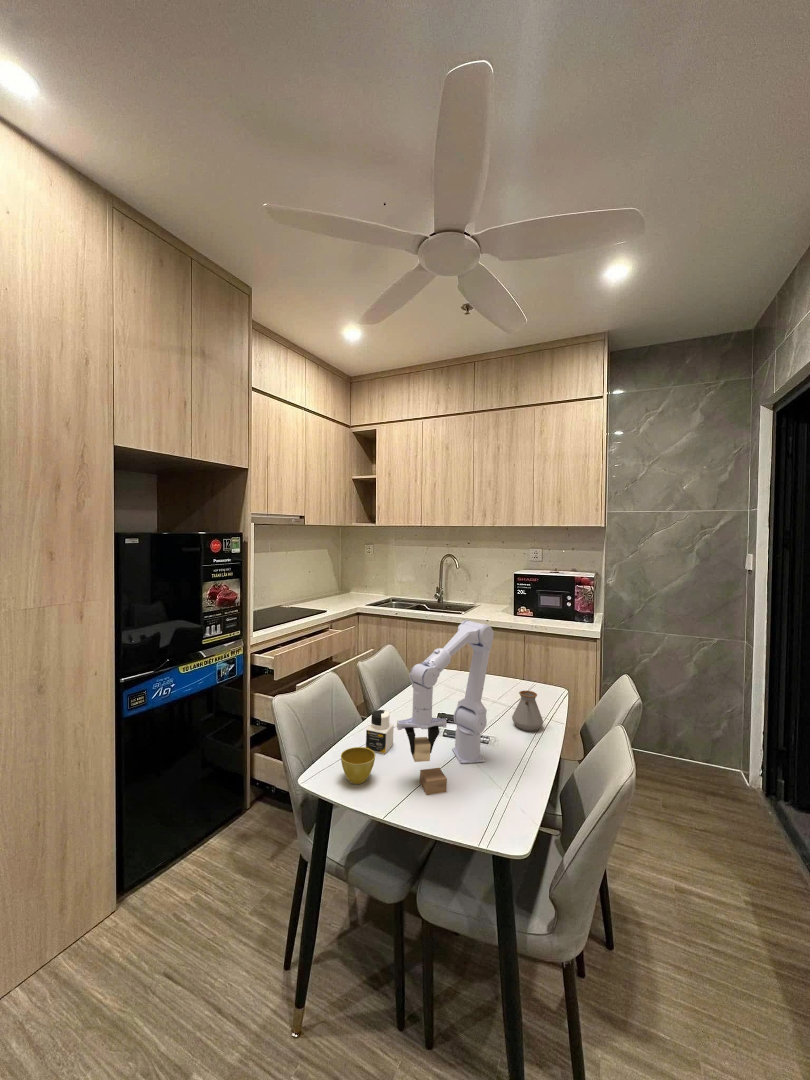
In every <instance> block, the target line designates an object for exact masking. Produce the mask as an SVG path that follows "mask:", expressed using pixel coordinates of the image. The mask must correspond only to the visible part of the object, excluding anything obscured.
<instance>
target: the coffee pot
mask: <svg viewBox="0 0 810 1080" xmlns="http://www.w3.org/2000/svg"><path fill="white" fill-rule="evenodd" d="M518 694H519V695H520V697H521V698H520V700H519V701H518V704H517V706H516V707H515V710H514V712H513V714H512V716H511V718H512V721H513V723H514V724H515V726H516V727H517V728H518V729H520V730H523V731H524V732H525V731H527V732H535V731H537V730H538V729H540V728H541V727H542V726H543V724H544V720H543V717H542V715H541V712H540V709H539V706H538V703H537V701H536V698H537V697H538V694H537V693H536V692H535V691H531V690H521V691H518Z"/></svg>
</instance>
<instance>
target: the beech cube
mask: <svg viewBox="0 0 810 1080" xmlns="http://www.w3.org/2000/svg"><path fill="white" fill-rule="evenodd" d="M430 746H431V744H430V742H429V740H428V736H420V737H419V736H418V737H416V736H415V742H414V754H412V753H411V756H412V759H413V761H414V763H421V762H430V761H431V753H430Z"/></svg>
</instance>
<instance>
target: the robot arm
mask: <svg viewBox="0 0 810 1080" xmlns="http://www.w3.org/2000/svg"><path fill="white" fill-rule="evenodd" d="M494 633H495V632H494V630H493V628H492V627H491V625H489V624H487V623H486V624H484V623H479V622H477V621H470V619H469V620H468V619H465V620H463V621H462V622H461V623H460V624H458V627H457V632H456V633H455V634H454V635H453V636H452V637H451V639H450V640H449V641H448V642H447V643H446V644H445V645H444V646H443V648H442V647H441V648H440V647H438V648H435V649H434V650H433V652H432V653H430V655H429V656H428V657H427V658H425V659H424V661H422V662H421V663H417V664H415V665H413V666H412V668H411V670H410V673H409V674H408V677H409V679H410V682H411V687H412V690H413V691H412V716H411V718H407V719H402V720H397V721H396V729H397V730H398V731H402V730H405V732H406V736H407V739H408V742H409V746H410V747H409V748H410V754H411V755H412V754H414V742H415V737H416V733H415V729H421V730H427V738H428V740H429V742H430V744H431V746H430V754H431V753H432V752H433V751H432V750H433V748H434V744H435V743H436V741H437V738H438V736H439V735H440V728H443V729H445V728H447V723H448V722H447V720H446V718H439V717H433V697H434V696H433V694H434V693H433V689H434V688H433V687H434V686H435V685H436V684H437V682H438V678H439V677H440V675H441V672H443V671H444V670H445V669H446V667H448V666H449V664H450V663H451V661H452V656H454V655H455V654H456V653H457V652H458V651H460V650H461V649H462V648H464V647H465V645H467V644H468V645H469V646H470V647H471V649H472V657H471V661H470V667H469V673H468V678H467V683H466V687H465V688H466V689H465V694H464V698H462V699H460V700H459V701H458V702H457V704H456V705H457V706H456V708H455V710H454V713H453V722H454V723H455V725H456V729H455V737H454V747H452V748H451V749H452V751H453V753H454V754H455V757H456V758H457V759H458V760H457V761H459V763H460V764H473V763H484V762H485V759H484V757H483V756H482V755H481V734H482V733H483V732H484V731H485V729H486V728H487V723H488V722H487V720H488V719H487V708H486V707H485V705H484V704H483V703H482V697H483V691H484V686H485V680H486V675H487V669H488V664H489V658H490V657H489V656H490V653H491V650H492V644H493V641H494V635H495V634H494Z"/></svg>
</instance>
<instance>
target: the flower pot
mask: <svg viewBox="0 0 810 1080" xmlns="http://www.w3.org/2000/svg"><path fill="white" fill-rule="evenodd" d="M375 760H376V752H374V751H372V750H370V749H368V748H366V747H361V746H357V747H356V746H355V747H350V748H346V749H344V751H342V752H341V754H340V761H341V766H342V769H343V771H344V772H343V773H344V774H345V777H346V778H347V780H348V782H349V783H350V784H352V785H353V784H354V785H361V784H363V783H365V782H366V781H367V779H368V777H369V776H370V774H371V772H372V770H373V767H374V764H375Z"/></svg>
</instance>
